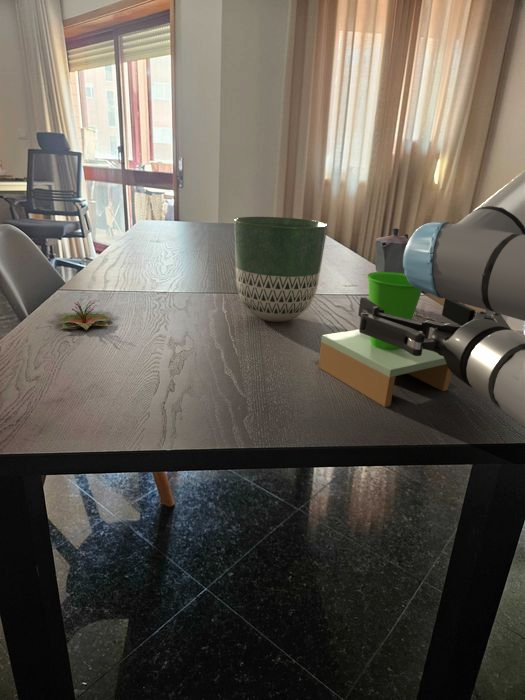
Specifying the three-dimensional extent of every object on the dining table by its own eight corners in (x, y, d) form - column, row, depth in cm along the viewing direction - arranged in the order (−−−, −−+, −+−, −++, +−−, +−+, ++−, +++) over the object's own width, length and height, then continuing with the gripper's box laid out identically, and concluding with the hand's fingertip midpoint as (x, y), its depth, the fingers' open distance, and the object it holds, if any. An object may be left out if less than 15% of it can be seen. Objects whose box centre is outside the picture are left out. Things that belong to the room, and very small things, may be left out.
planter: (313, 337, 96) (324, 230, 88) (221, 326, 99) (224, 222, 91) (320, 311, 114) (329, 220, 106) (242, 303, 117) (245, 214, 109)
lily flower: (54, 316, 99) (51, 295, 97) (113, 313, 103) (112, 293, 101) (51, 335, 88) (49, 312, 87) (117, 331, 93) (116, 308, 91)
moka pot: (356, 309, 118) (367, 227, 110) (379, 298, 130) (390, 224, 122) (393, 317, 113) (407, 232, 106) (413, 305, 125) (427, 228, 118)
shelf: (447, 390, 75) (455, 355, 73) (384, 407, 68) (391, 369, 66) (377, 355, 88) (382, 325, 86) (318, 367, 81) (321, 334, 79)
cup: (398, 359, 70) (410, 287, 66) (347, 343, 76) (355, 276, 72) (424, 346, 76) (437, 279, 72) (375, 331, 82) (384, 269, 78)
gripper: (382, 396, 50) (322, 331, 69) (582, 388, 54) (473, 329, 74) (393, 329, 47) (327, 280, 66) (602, 327, 52) (484, 282, 71)
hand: (404, 306), depth 70 cm, fingers open, 13 cm apart
